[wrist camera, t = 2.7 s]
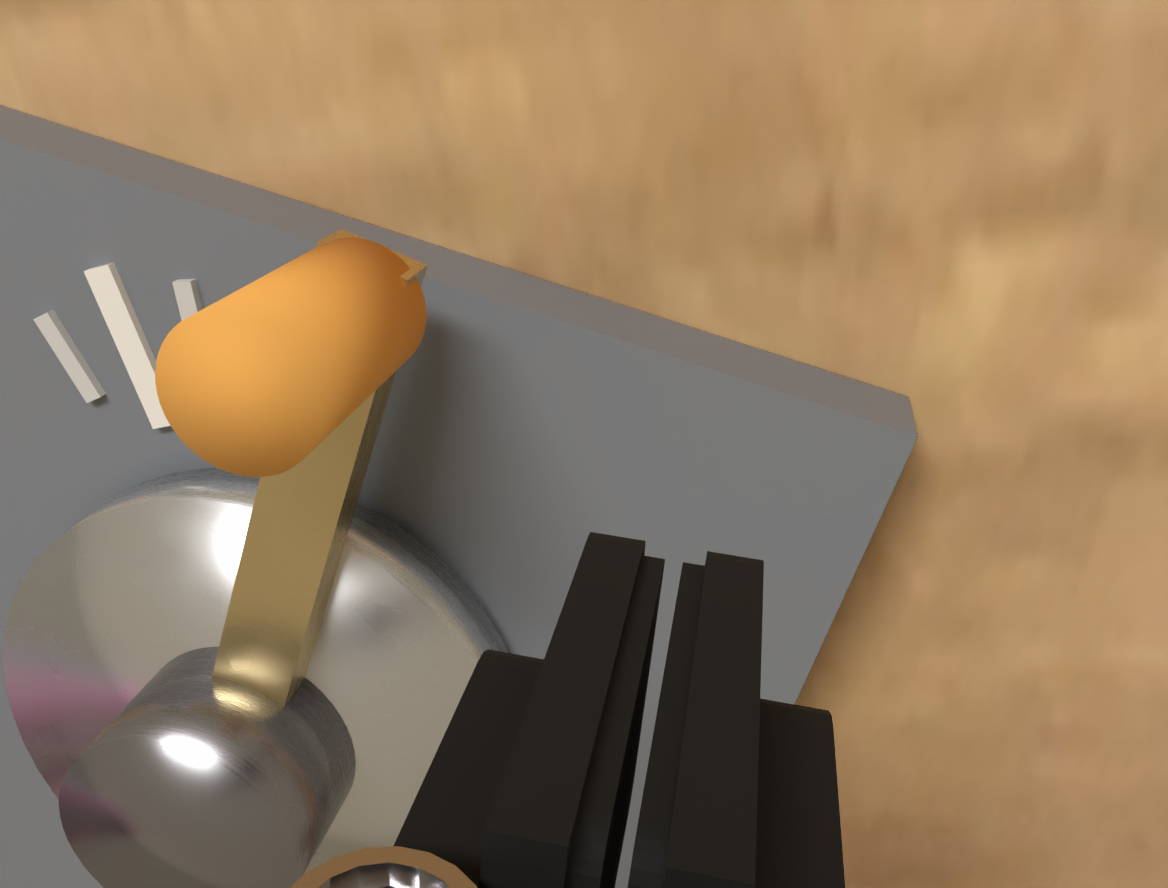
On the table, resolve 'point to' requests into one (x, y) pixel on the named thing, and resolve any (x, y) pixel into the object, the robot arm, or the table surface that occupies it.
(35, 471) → the dial base
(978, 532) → the table surface
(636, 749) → the robot arm
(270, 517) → the dial
